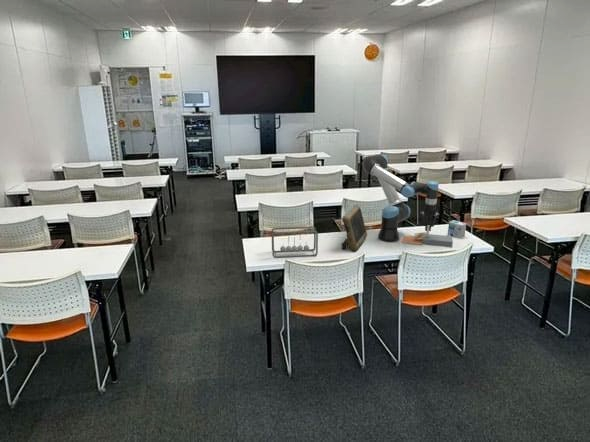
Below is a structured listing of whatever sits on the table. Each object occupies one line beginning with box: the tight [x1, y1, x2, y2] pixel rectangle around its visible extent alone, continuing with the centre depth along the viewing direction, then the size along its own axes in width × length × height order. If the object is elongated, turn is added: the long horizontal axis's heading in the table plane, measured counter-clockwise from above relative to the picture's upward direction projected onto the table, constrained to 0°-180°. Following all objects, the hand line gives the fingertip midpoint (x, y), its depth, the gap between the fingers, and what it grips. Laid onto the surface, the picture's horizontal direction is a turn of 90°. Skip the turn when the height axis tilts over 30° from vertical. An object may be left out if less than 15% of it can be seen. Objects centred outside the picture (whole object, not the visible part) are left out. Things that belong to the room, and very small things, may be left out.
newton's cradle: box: [270, 225, 319, 259], centre depth 266 cm, size 30×10×18 cm, turn 96°
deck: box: [422, 233, 454, 248], centre depth 287 cm, size 20×12×4 cm, turn 72°
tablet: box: [341, 204, 368, 253], centre depth 283 cm, size 33×14×25 cm, turn 162°
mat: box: [401, 234, 423, 246], centre depth 292 cm, size 14×16×1 cm
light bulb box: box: [446, 219, 467, 239], centre depth 299 cm, size 11×7×11 cm, turn 43°
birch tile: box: [413, 231, 427, 238], centre depth 289 cm, size 8×6×2 cm
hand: (427, 235), depth 288 cm, fingers closed
